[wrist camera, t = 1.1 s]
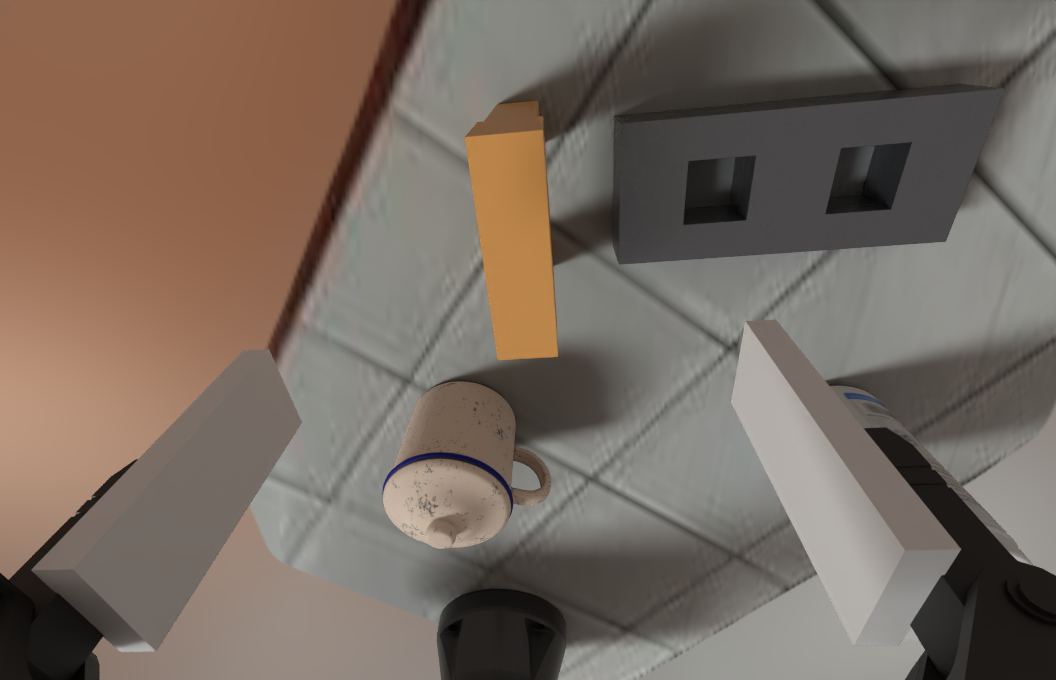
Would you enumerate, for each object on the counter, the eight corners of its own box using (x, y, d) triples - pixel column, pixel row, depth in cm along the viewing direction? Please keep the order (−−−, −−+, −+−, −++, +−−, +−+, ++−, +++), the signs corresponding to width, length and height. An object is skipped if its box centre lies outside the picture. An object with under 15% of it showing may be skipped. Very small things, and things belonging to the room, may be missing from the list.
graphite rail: (912, 224, 31) (945, 241, 28) (613, 246, 32) (618, 264, 29) (960, 83, 26) (1005, 88, 24) (613, 116, 28) (620, 123, 25)
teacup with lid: (405, 446, 42) (363, 569, 33) (419, 365, 38) (374, 480, 28) (536, 472, 44) (533, 598, 34) (565, 397, 39) (571, 518, 29)
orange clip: (554, 267, 33) (558, 356, 24) (511, 270, 33) (497, 360, 24) (543, 99, 27) (542, 130, 18) (491, 104, 28) (464, 137, 18)
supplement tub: (766, 477, 43) (856, 654, 31) (749, 400, 39) (846, 572, 26) (883, 449, 41) (1032, 628, 28) (880, 364, 36) (1055, 533, 24)
